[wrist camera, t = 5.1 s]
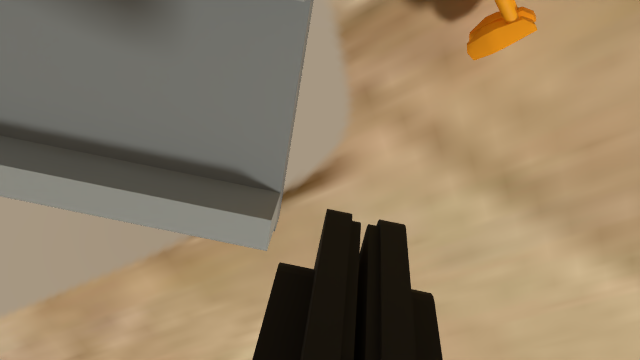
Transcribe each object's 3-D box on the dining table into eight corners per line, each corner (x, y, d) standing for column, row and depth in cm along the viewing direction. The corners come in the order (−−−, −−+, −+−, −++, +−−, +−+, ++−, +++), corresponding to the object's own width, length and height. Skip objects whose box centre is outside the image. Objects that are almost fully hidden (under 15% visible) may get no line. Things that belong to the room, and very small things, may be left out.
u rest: (-155, -176, 16) (-260, -191, 13) (325, -78, 16) (315, -74, 13) (-67, 147, 22) (-127, 180, 19) (278, 218, 22) (265, 260, 19)
